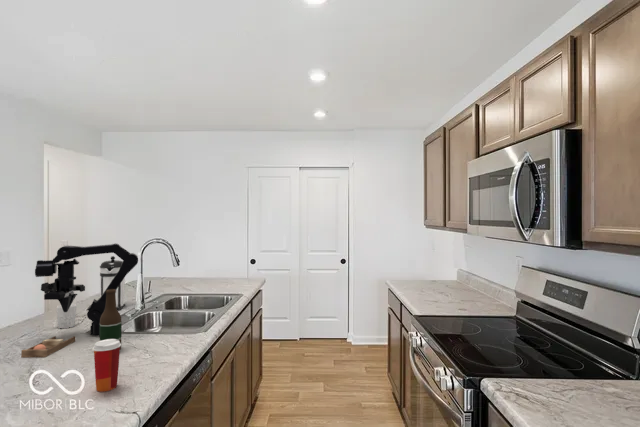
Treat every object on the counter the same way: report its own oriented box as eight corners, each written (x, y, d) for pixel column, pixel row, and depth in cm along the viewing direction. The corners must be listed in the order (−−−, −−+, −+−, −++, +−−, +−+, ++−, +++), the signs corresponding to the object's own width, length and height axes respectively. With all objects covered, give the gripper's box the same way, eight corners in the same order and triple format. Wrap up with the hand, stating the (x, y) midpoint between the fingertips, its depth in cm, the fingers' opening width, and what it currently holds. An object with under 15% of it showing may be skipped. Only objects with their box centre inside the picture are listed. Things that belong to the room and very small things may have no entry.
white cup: (59, 330, 172) (60, 308, 173) (53, 327, 177) (53, 306, 177) (78, 326, 179) (79, 305, 179) (72, 323, 184) (72, 303, 184)
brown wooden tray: (75, 343, 154) (75, 335, 154) (45, 359, 137) (45, 350, 137) (54, 343, 154) (54, 335, 154) (21, 360, 137) (21, 350, 137)
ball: (40, 343, 140) (41, 353, 139) (48, 342, 144) (49, 353, 143) (29, 346, 140) (30, 357, 139) (38, 346, 144) (39, 356, 143)
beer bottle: (96, 355, 142) (96, 292, 142) (102, 348, 150) (102, 288, 150) (118, 353, 144) (119, 291, 144) (123, 346, 152) (124, 287, 152)
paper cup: (114, 379, 121) (115, 336, 121) (125, 386, 116) (125, 341, 116) (87, 388, 115) (88, 342, 115) (97, 396, 110) (97, 348, 110)
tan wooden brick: (63, 346, 148) (63, 338, 148) (59, 348, 146) (59, 340, 146) (46, 346, 148) (46, 339, 148) (42, 348, 145) (42, 341, 145)
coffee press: (134, 307, 215) (134, 255, 215) (106, 313, 202) (106, 258, 202) (117, 303, 224) (117, 254, 225) (89, 309, 211) (90, 256, 211)
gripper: (60, 272, 168) (60, 306, 168) (30, 279, 149) (30, 318, 149) (85, 272, 168) (85, 306, 168) (59, 279, 150) (58, 317, 150)
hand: (65, 311), depth 159 cm, fingers closed
